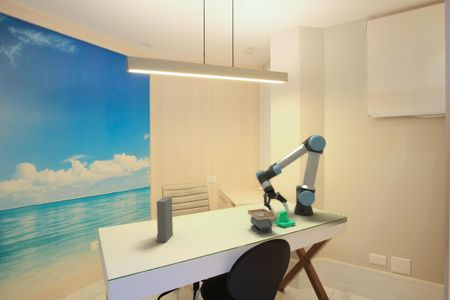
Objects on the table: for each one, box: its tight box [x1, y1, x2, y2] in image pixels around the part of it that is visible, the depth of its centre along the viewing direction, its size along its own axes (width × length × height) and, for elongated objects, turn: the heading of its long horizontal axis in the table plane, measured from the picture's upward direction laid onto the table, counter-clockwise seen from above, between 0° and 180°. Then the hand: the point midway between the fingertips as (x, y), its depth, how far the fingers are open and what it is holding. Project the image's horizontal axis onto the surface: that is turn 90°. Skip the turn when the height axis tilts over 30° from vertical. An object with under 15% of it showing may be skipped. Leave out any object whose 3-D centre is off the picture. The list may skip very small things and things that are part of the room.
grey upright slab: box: [156, 196, 174, 243], centre depth 172 cm, size 14×6×25 cm, turn 174°
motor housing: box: [247, 208, 276, 235], centre depth 185 cm, size 12×16×12 cm
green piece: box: [275, 209, 296, 228], centre depth 195 cm, size 12×8×10 cm, turn 119°
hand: (280, 212), depth 197 cm, fingers open, 13 cm apart
